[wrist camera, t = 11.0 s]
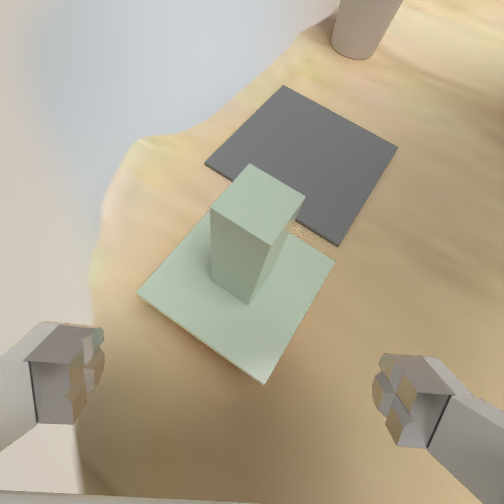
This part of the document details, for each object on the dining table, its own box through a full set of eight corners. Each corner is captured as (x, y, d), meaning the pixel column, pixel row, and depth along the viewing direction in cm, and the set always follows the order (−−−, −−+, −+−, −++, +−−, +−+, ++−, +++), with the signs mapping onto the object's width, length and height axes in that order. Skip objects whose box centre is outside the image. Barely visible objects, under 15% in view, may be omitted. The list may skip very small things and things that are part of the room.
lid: (224, 200, 25) (230, 89, 16) (331, 266, 23) (404, 185, 14) (139, 297, 21) (81, 221, 12) (262, 385, 19) (304, 376, 10)
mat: (282, 87, 38) (283, 84, 38) (396, 149, 36) (398, 147, 36) (204, 164, 32) (204, 161, 31) (337, 246, 29) (339, 244, 29)
